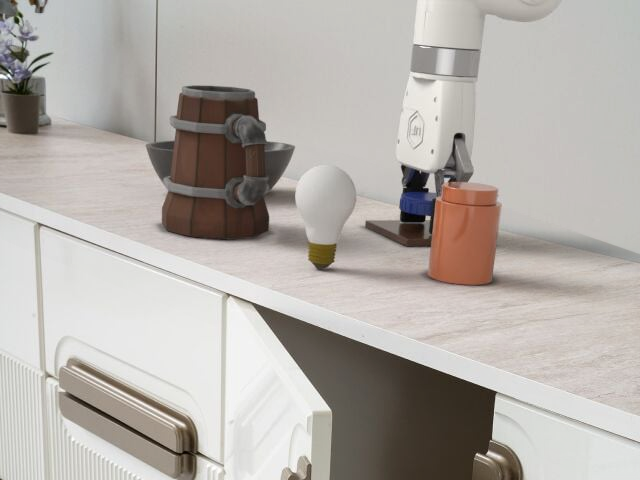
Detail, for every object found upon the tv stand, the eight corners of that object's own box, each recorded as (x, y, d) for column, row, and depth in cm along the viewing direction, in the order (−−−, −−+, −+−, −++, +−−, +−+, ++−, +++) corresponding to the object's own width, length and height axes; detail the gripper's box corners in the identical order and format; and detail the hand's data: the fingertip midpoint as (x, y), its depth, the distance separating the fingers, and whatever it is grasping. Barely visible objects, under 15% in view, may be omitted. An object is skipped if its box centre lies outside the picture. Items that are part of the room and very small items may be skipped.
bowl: (313, 197, 151) (316, 150, 149) (176, 206, 138) (177, 154, 135) (259, 183, 160) (261, 138, 157) (124, 190, 146) (124, 141, 144)
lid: (415, 216, 126) (417, 201, 126) (389, 205, 132) (390, 191, 131) (468, 216, 129) (469, 201, 128) (440, 206, 135) (441, 191, 134)
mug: (144, 221, 127) (145, 81, 122) (237, 217, 134) (242, 84, 128) (208, 250, 116) (213, 97, 110) (307, 244, 122) (317, 99, 116)
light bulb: (300, 259, 115) (307, 158, 111) (356, 266, 113) (365, 164, 109) (283, 270, 109) (289, 165, 105) (341, 278, 108) (350, 171, 104)
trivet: (445, 226, 138) (446, 219, 138) (491, 245, 129) (492, 238, 129) (364, 227, 134) (365, 220, 134) (406, 246, 125) (407, 239, 124)
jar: (471, 269, 116) (482, 181, 113) (504, 284, 111) (516, 192, 107) (416, 270, 114) (425, 180, 110) (447, 285, 108) (458, 191, 105)
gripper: (380, 57, 130) (366, 214, 137) (453, 69, 115) (434, 244, 122) (437, 61, 133) (420, 214, 140) (515, 73, 118) (493, 243, 125)
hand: (427, 226), depth 131 cm, fingers closed on lid, 6 cm apart
